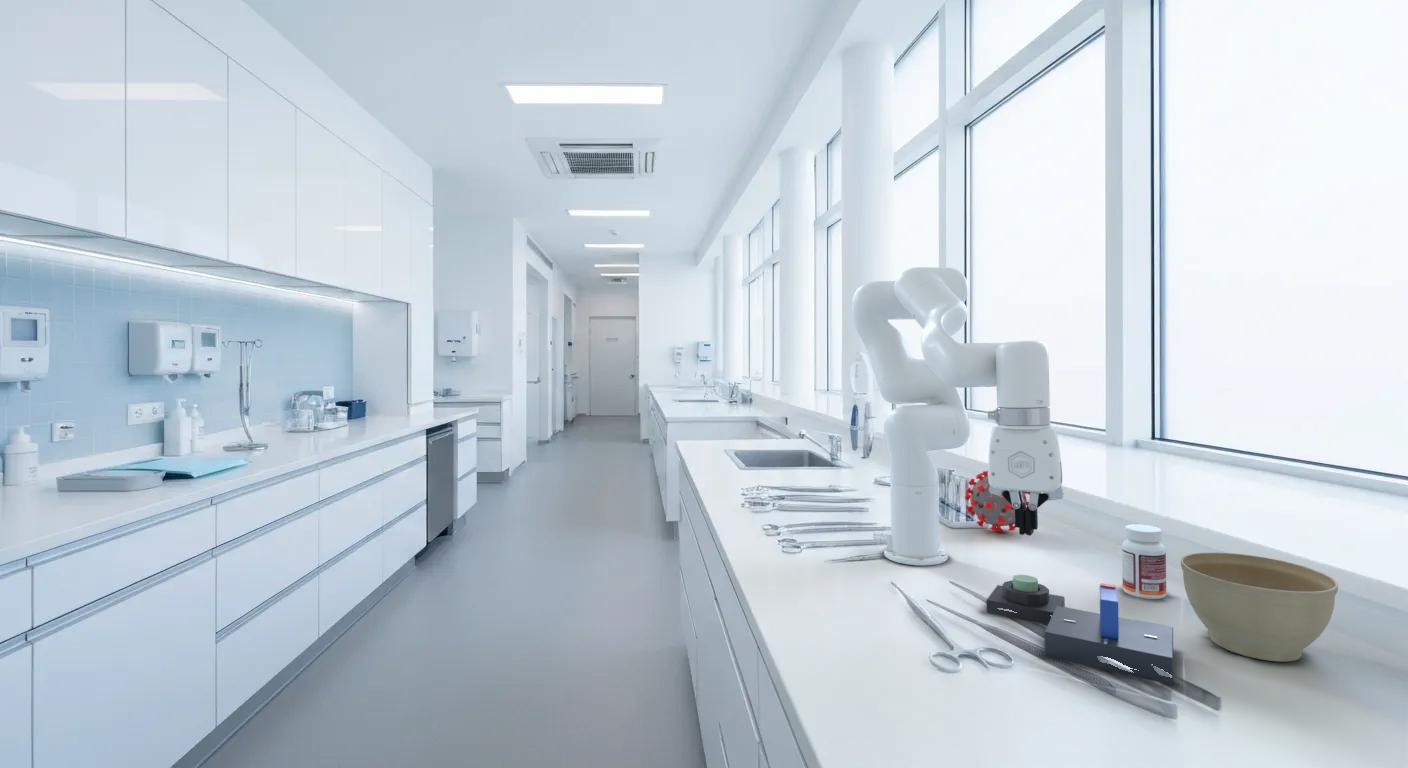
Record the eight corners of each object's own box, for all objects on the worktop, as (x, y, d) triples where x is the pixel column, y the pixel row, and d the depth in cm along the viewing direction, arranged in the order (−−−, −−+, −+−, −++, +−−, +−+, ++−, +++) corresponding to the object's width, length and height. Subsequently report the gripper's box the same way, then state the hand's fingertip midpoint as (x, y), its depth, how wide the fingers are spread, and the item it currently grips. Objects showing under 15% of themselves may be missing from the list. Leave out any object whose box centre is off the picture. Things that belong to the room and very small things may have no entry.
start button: (1010, 590, 100) (1010, 579, 100) (1015, 583, 103) (1015, 573, 103) (1035, 594, 98) (1035, 583, 98) (1039, 587, 101) (1039, 577, 101)
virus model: (974, 540, 141) (973, 474, 141) (958, 523, 156) (957, 463, 155) (1043, 541, 139) (1042, 474, 138) (1020, 524, 153) (1019, 463, 153)
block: (986, 613, 100) (986, 588, 100) (997, 597, 107) (997, 574, 107) (1057, 627, 94) (1057, 601, 94) (1064, 610, 101) (1064, 585, 101)
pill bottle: (1172, 594, 106) (1172, 528, 105) (1157, 603, 102) (1156, 534, 102) (1131, 584, 111) (1131, 521, 111) (1115, 592, 107) (1114, 527, 107)
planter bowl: (1216, 669, 80) (1216, 585, 80) (1161, 619, 96) (1160, 549, 96) (1372, 682, 76) (1372, 594, 76) (1288, 628, 92) (1287, 555, 91)
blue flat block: (1118, 639, 82) (1118, 600, 82) (1100, 636, 83) (1100, 597, 83) (1116, 621, 87) (1116, 584, 87) (1099, 618, 88) (1099, 582, 88)
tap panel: (1044, 656, 85) (1044, 630, 85) (1056, 628, 94) (1056, 604, 94) (1173, 686, 77) (1172, 656, 77) (1173, 652, 85) (1172, 625, 85)
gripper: (967, 419, 101) (971, 532, 101) (1074, 421, 92) (1078, 544, 92) (979, 416, 107) (982, 523, 107) (1080, 417, 98) (1083, 533, 98)
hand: (1026, 532), depth 100 cm, fingers closed
